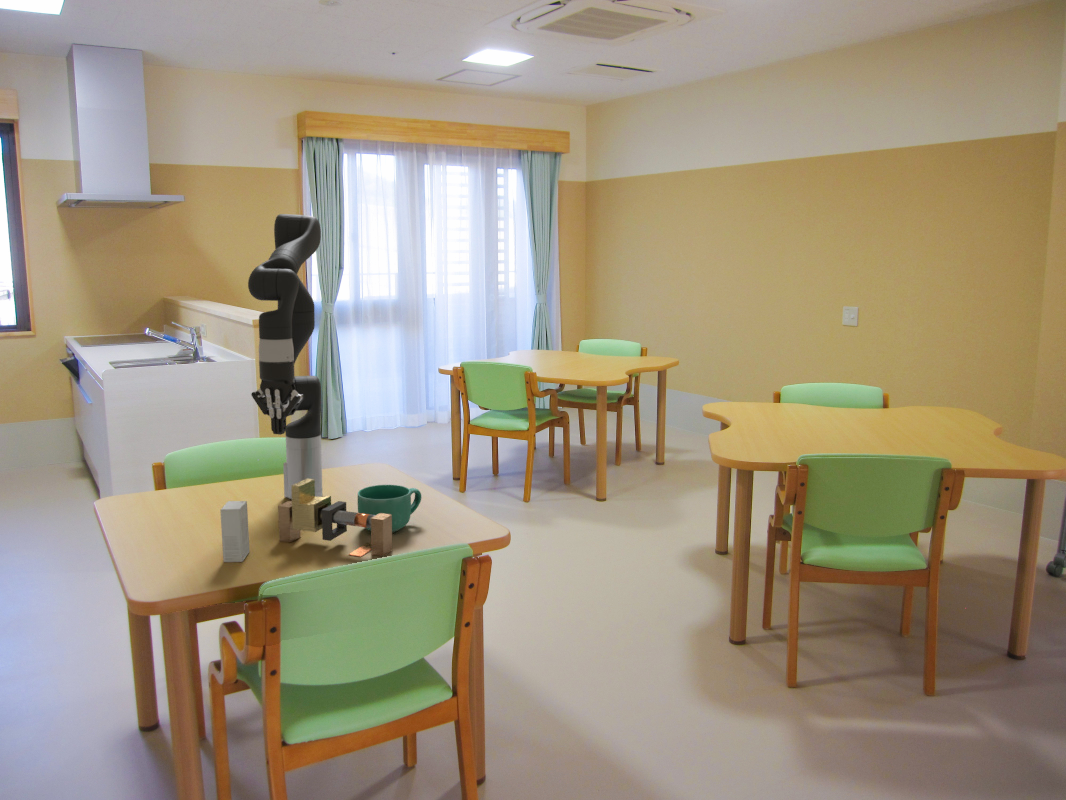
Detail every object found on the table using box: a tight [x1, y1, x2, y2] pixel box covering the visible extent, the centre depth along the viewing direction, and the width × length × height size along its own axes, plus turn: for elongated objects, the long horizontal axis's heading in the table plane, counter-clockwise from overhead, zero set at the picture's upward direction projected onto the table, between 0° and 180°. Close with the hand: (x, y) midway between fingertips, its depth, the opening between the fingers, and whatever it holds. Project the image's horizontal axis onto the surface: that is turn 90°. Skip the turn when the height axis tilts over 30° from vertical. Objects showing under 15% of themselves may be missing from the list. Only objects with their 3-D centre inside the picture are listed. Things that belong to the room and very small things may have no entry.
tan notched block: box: [291, 479, 332, 533], centre depth 186 cm, size 6×7×10 cm
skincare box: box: [220, 500, 250, 563], centre depth 177 cm, size 6×4×12 cm
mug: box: [357, 484, 422, 533], centre depth 198 cm, size 17×13×10 cm
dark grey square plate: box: [321, 500, 348, 542], centre depth 185 cm, size 2×7×7 cm, turn 162°
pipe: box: [277, 500, 393, 558], centre depth 185 cm, size 27×8×8 cm, turn 72°
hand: (279, 433), depth 186 cm, fingers closed
